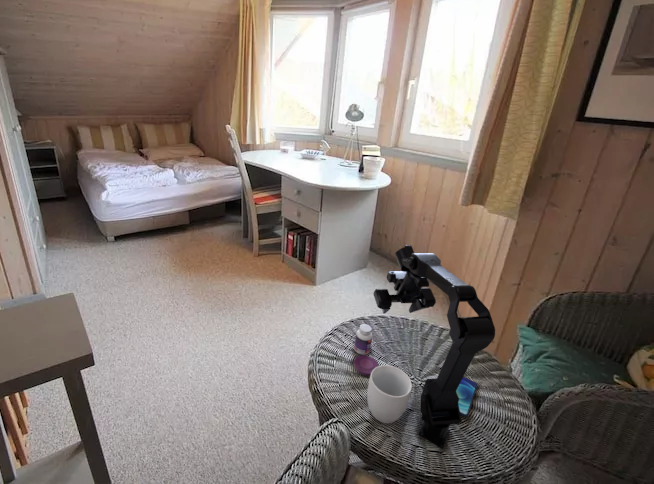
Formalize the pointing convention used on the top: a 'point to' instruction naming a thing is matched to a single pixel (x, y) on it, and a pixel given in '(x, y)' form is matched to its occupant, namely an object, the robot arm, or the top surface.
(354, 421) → the top surface
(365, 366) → the plum saucer
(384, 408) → the mug
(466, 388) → the smartphone
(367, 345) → the pill bottle
